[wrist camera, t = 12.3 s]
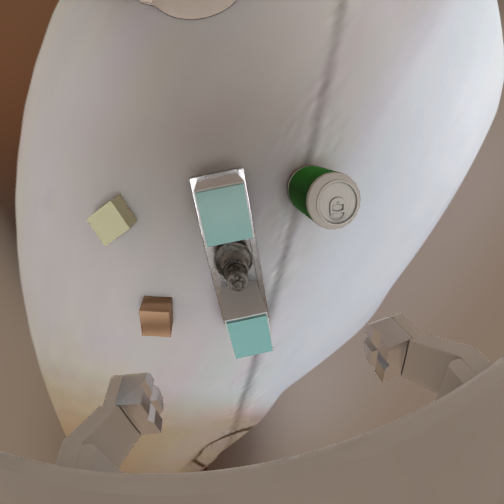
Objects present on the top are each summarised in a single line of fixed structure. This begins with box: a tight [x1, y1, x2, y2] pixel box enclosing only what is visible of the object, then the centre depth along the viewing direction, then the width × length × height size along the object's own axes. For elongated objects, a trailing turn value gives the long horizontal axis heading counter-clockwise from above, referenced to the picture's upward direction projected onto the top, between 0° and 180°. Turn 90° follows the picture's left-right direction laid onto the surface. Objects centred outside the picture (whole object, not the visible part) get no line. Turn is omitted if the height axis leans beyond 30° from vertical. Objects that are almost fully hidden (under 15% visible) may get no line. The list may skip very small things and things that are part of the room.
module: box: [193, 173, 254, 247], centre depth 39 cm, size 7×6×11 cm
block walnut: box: [139, 296, 173, 337], centre depth 48 cm, size 5×5×5 cm
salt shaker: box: [214, 240, 253, 292], centre depth 41 cm, size 6×6×12 cm
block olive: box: [87, 195, 137, 246], centre depth 41 cm, size 5×5×5 cm
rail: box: [190, 168, 269, 324], centre depth 47 cm, size 26×8×2 cm, turn 10°
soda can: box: [287, 166, 361, 229], centre depth 40 cm, size 8×8×12 cm
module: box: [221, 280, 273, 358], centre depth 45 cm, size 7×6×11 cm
